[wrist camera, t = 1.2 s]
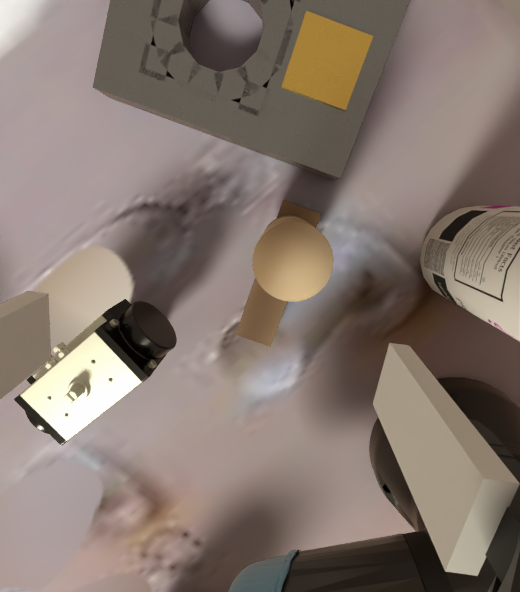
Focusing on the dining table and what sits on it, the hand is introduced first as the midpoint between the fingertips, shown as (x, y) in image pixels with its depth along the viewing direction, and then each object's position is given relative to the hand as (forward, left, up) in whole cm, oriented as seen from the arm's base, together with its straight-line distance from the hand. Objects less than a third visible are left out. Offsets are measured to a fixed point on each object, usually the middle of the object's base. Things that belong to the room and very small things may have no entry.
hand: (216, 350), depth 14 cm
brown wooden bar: (-2, 0, -20) cm, 20 cm away
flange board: (+6, -16, -20) cm, 26 cm away
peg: (-2, -3, -17) cm, 17 cm away
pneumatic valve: (+9, +10, -20) cm, 24 cm away
